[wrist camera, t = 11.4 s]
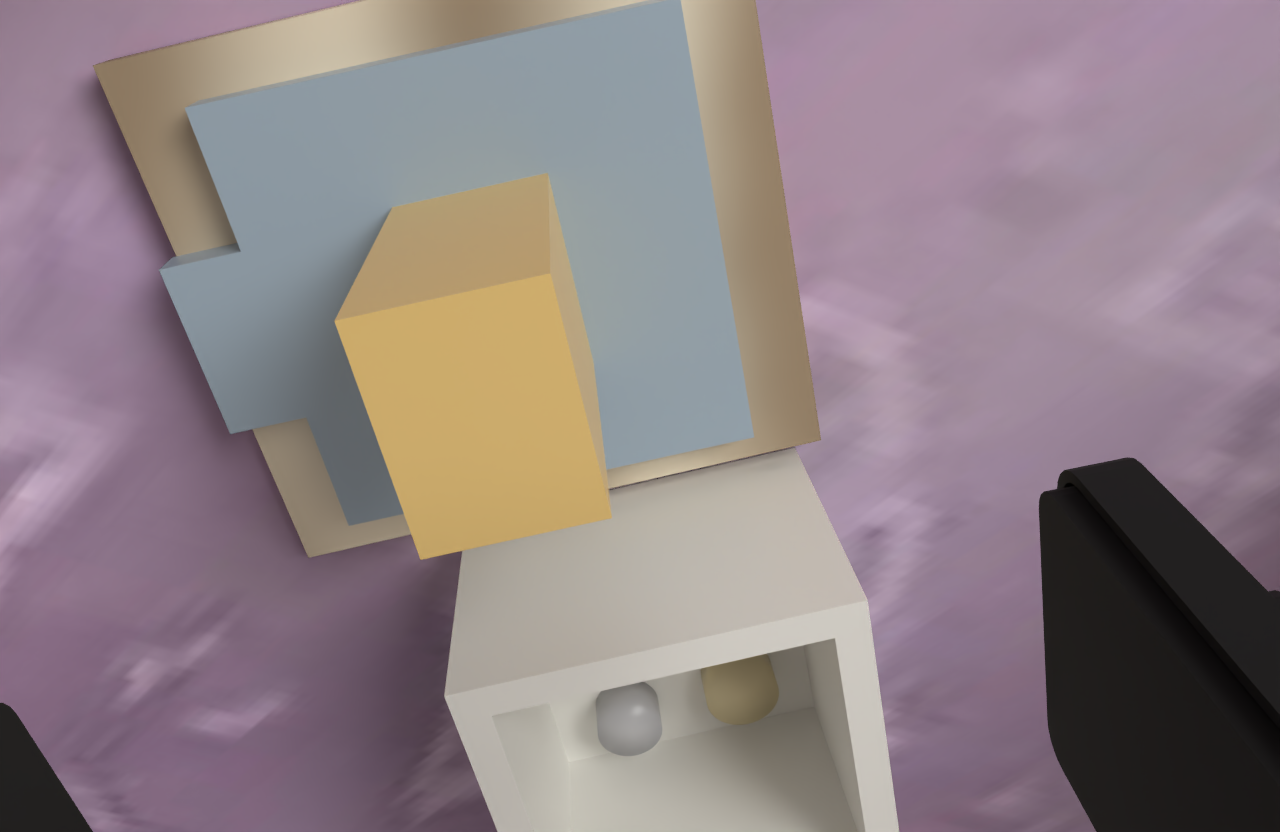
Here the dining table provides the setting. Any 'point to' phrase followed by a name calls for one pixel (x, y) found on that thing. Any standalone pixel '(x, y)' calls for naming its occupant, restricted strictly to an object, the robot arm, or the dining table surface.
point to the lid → (473, 273)
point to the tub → (675, 665)
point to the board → (451, 13)
